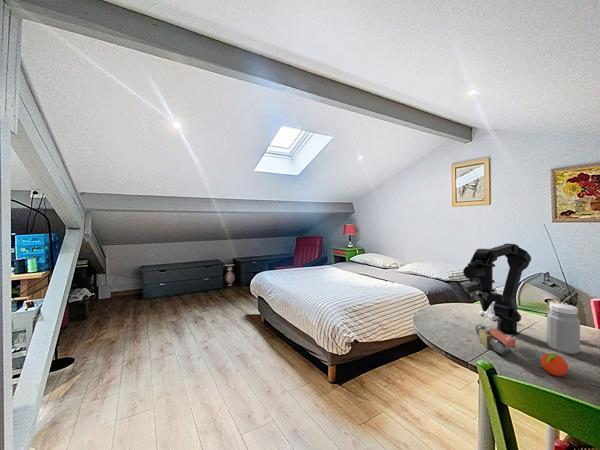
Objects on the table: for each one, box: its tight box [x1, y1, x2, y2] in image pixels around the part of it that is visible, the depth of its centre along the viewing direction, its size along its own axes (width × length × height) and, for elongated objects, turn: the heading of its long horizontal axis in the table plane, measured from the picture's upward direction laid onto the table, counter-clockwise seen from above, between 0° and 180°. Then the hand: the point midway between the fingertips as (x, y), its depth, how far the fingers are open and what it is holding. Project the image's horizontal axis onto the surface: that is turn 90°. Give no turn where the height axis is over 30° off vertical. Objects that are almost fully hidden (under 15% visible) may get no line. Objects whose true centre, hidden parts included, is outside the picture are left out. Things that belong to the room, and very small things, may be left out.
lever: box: [485, 326, 516, 349], centre depth 108 cm, size 16×4×3 cm, turn 172°
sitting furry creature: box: [478, 301, 499, 321], centre depth 147 cm, size 10×9×12 cm
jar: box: [546, 302, 581, 355], centre depth 110 cm, size 10×10×18 cm
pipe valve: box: [474, 324, 511, 356], centre depth 114 cm, size 20×6×6 cm, turn 170°
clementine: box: [540, 352, 569, 377], centre depth 93 cm, size 8×7×7 cm
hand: (484, 311), depth 122 cm, fingers closed
